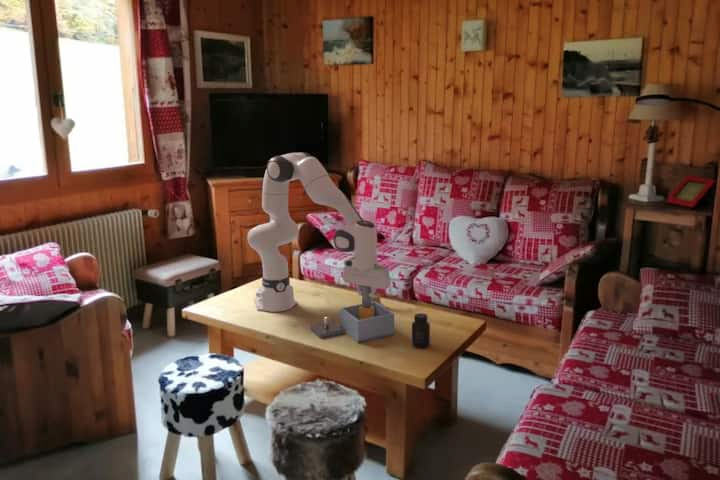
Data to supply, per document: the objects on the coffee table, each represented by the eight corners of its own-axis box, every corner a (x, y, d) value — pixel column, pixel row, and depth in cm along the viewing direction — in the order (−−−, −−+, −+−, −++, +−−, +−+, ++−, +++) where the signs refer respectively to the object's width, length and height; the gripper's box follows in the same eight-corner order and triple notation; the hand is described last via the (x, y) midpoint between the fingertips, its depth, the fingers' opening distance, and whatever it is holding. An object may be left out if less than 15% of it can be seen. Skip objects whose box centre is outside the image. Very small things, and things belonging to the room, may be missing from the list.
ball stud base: (310, 329, 238) (310, 315, 237) (333, 325, 243) (332, 310, 241) (320, 338, 230) (319, 323, 228) (343, 333, 234) (343, 318, 232)
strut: (365, 317, 237) (364, 282, 233) (374, 319, 235) (374, 284, 231) (359, 320, 233) (358, 285, 230) (368, 323, 231) (368, 287, 227)
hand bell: (361, 307, 263) (361, 272, 259) (375, 302, 268) (375, 269, 264) (374, 312, 257) (373, 277, 253) (388, 307, 262) (387, 273, 258)
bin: (340, 328, 239) (339, 308, 237) (375, 321, 246) (374, 301, 243) (358, 343, 225) (357, 321, 223) (394, 335, 232) (394, 313, 230)
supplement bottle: (433, 344, 223) (433, 314, 220) (422, 350, 218) (423, 320, 215) (418, 339, 227) (419, 310, 224) (408, 345, 222) (408, 315, 219)
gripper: (393, 264, 225) (393, 298, 229) (349, 257, 236) (349, 289, 239) (384, 268, 220) (385, 303, 223) (340, 260, 231) (341, 294, 234)
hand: (366, 296), depth 232 cm, fingers closed on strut, 4 cm apart
